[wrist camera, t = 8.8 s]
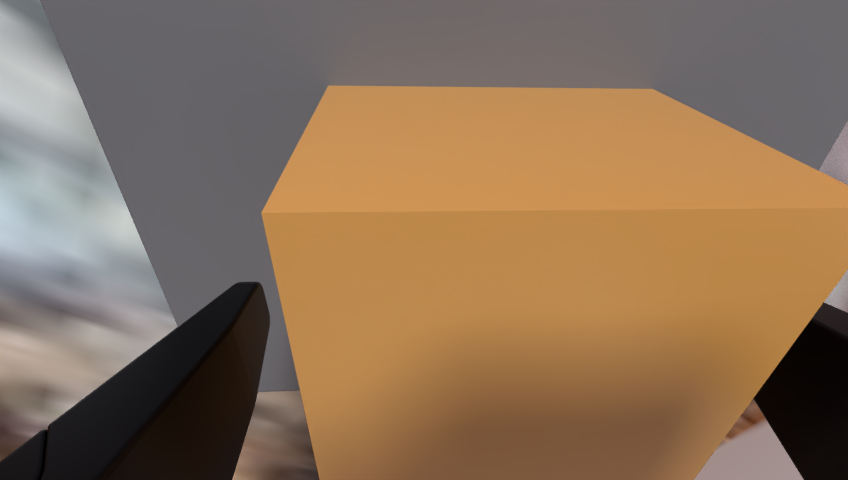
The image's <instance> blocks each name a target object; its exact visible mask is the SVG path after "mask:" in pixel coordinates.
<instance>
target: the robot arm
mask: <svg viewBox="0 0 848 480" xmlns="http://www.w3.org/2000/svg"><path fill="white" fill-rule="evenodd" d="M269 328H270V313H269V309H268V305H267V301H266V297H265V293H264V289H263V286H262V285H261V283H259V282H257V281H255V282H237V283H235V284H234V285H232V286H231V287H230V288H228V289H227V290H226V291H224V292H223V293H222V294H221V295H219V296H218V297H217V298H215V299H214V300H213V301H211V302H210V303H209V304H207V305H206V306H205V307H203V308H202V309H201V310H199V311H198V312H197V313H196V314H194V315H193V316H192V317H190V318H189V319H188V320H186V321H185V322H184V323H182V324H181V325H180V326H178V327H177V328H176V329H174V330H173V331H172V332H171V333H169V334H168V335H167V336H165V337H164V338H163V339H161V340H160V341H159V342H157V343H156V344H155V345H153V346H152V347H151V348H149V349H148V350H147V351H146V352H144V353H143V354H142V355H140V356H139V357H138V358H136V359H135V360H134V361H132V362H131V363H130V364H128V365H127V366H126V367H124V368H123V369H122V370H121V371H119V372H118V373H117V374H115V375H114V376H113V377H111V378H110V379H109V380H107V381H106V382H105V383H103V384H102V385H101V386H99V387H98V388H97V389H96V390H94V391H93V392H92V393H90V394H89V395H88V396H86V397H85V398H84V399H82V400H81V401H80V402H78V403H77V404H76V405H74V406H73V407H72V408H71V409H69V410H68V411H67V412H65V413H64V414H63V415H61V416H60V417H59V418H57V419H56V420H55V421H53V422H52V423H51V424H50V425H49V426H48V429H47V430H41V431H40V432H39V433H37V434H36V435H35V436H33V437H32V438H31V439H29V440H28V441H27V442H26V443H24V444H23V445H22V446H20V447H19V448H18V449H16V450H15V451H14V452H12V453H11V454H10V455H8V456H7V457H6V458H4V459H3V460H1V461H0V480H232V478H233V475H234V472H235V468H236V465H237V462H238V459H239V455H240V452H241V449H242V446H243V442H244V439H245V436H246V433H247V429H248V426H249V423H250V420H251V416H252V413H253V409H254V406H255V402H256V398H257V393H258V388H259V382H260V377H261V372H262V366H263V361H264V355H265V350H266V344H267V339H268V333H269ZM753 399H754V400H755V402H756V404H757V405H758V407H759V408H760V410H761V412H762V413H763V415H764V417H765V418H766V420H767V421H768V423H769V425H770V426H771V428H772V429H773V431H774V432H775V434H776V436H777V437H778V439H779V441H780V442H781V444H782V445H783V447H784V449H785V450H786V452H787V453H788V455H789V456H790V458H791V460H792V461H793V463H794V465H795V466H796V468H797V469H798V471H799V472H800V474H801V476H802V477H803V479H804V480H848V313H847V312H845V311H842V310H840V309H838V308H835V307H833V306H831V305H828V304H826V303H824V302H823V304H822V305H821V306H820V308H819V309H818V310H817V312H816V313H815V315H814V316H813V317H812V319H811V320H810V321H809V323H808V324H807V326H806V327H805V328H804V330H803V331H802V332H801V334H800V335H799V336H798V338H797V339H796V341H795V342H794V343H793V345H792V346H791V347H790V349H789V350H788V351H787V353H786V354H785V356H784V357H783V358H782V360H781V361H780V362H779V364H778V365H777V367H776V368H775V369H774V371H773V372H772V373H771V375H770V376H769V377H768V379H767V380H766V382H765V383H764V384H763V386H762V387H761V388H760V390H759V391H758V392H757V394H756V395H755V397H754V398H753Z"/></svg>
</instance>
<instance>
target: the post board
mask: <svg viewBox="0 0 848 480" xmlns="http://www.w3.org/2000/svg"><path fill="white" fill-rule="evenodd" d="M40 1H41V3H42V6H43V8H44V10H45V13H46V15H47V17H48V20H49V22H50V25H51V27H52V29H53V32H54V34H55V36H56V39H57V41H58V43H59V46H60V48H61V51H62V53H63V55H64V58H65V60H66V62H67V65H68V67H69V70H70V72H71V74H72V77H73V79H74V81H75V84H76V86H77V89H78V91H79V93H80V96H81V98H82V100H83V103H84V105H85V107H86V110H87V112H88V115H89V117H90V119H91V122H92V124H93V126H94V129H95V131H96V134H97V136H98V138H99V141H100V143H101V145H102V148H103V150H104V153H105V155H106V157H107V160H108V162H109V164H110V167H111V169H112V171H113V174H114V176H115V179H116V181H117V183H118V186H119V188H120V190H121V193H122V195H123V198H124V200H125V202H126V205H127V207H128V209H129V212H130V214H131V216H132V219H133V221H134V224H135V226H136V228H137V231H138V233H139V235H140V238H141V240H142V243H143V245H144V247H145V250H146V252H147V254H148V257H149V259H150V262H151V264H152V266H153V269H154V271H155V273H156V276H157V278H158V280H159V283H160V285H161V288H162V290H163V292H164V295H165V297H166V299H167V302H168V304H169V307H170V309H171V311H172V314H173V316H174V318H175V321H176V323H177V326H180V325H181V324H182V323H184V322H185V321H186V320H188V319H189V318H190V317H192V316H193V315H194V314H196V313H197V312H198V311H199V310H201V309H202V308H203V307H205V306H206V305H207V304H209V303H210V302H211V301H213V300H214V299H215V298H217V297H218V296H219V295H221V294H222V293H223V292H224V291H226V290H227V289H228V288H230V287H231V286H232V285H234V284H235V283H237V282H255V281H257V282H259V283H261V285H262V286H263V289H264V293H265V297H266V301H267V305H268V309H269V313H270V328H269V333H268V339H267V344H266V350H265V355H264V361H263V366H262V372H261V377H260V382H259V388H258V392H271V391H298V390H300V388H299V383H298V379H297V374H296V370H295V365H294V360H293V356H292V351H291V347H290V342H289V337H288V333H287V328H286V324H285V319H284V315H283V310H282V305H281V301H280V296H279V292H278V287H277V283H276V278H275V273H274V269H273V264H272V260H271V255H270V250H269V246H268V241H267V237H266V232H265V228H264V223H263V218H262V214H261V212H262V210H263V209H264V207H265V205H266V203H267V201H268V199H269V197H270V195H271V193H272V192H273V190H274V188H275V186H276V184H277V182H278V180H279V178H280V176H281V174H282V173H283V171H284V169H285V167H286V165H287V163H288V161H289V159H290V157H291V155H292V154H293V152H294V150H295V148H296V146H297V144H298V142H299V140H300V138H301V137H302V135H303V133H304V131H305V129H306V127H307V125H308V123H309V121H310V119H311V118H312V116H313V114H314V112H315V110H316V108H317V106H318V104H319V102H320V100H321V99H322V97H323V95H324V93H325V91H326V89H327V87H328V86H420V87H516V88H612V89H654V90H656V91H658V92H660V93H662V94H664V95H666V96H668V97H670V98H672V99H674V100H676V101H678V102H680V103H682V104H684V105H686V106H688V107H690V108H692V109H695V110H697V111H699V112H701V113H703V114H705V115H707V116H709V117H711V118H713V119H715V120H717V121H719V122H721V123H723V124H725V125H727V126H729V127H731V128H733V129H735V130H737V131H739V132H741V133H743V134H745V135H747V136H749V137H751V138H753V139H755V140H757V141H759V142H761V143H763V144H765V145H767V146H769V147H771V148H773V149H775V150H777V151H779V152H781V153H783V154H785V155H788V156H790V157H792V158H794V159H796V160H798V161H800V162H802V163H804V164H806V165H808V166H810V167H812V168H814V169H816V170H819V169H820V167H821V165H822V163H823V162H824V160H825V158H826V156H827V155H828V153H829V151H830V150H831V148H832V146H833V144H834V143H835V141H836V139H837V138H838V136H839V134H840V132H841V131H842V129H843V127H844V126H845V124H846V122H847V120H848V0H40Z"/></svg>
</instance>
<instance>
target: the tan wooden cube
mask: <svg viewBox="0 0 848 480" xmlns="http://www.w3.org/2000/svg"><path fill="white" fill-rule="evenodd" d="M261 214H262V218H263V223H264V228H265V232H266V237H267V241H268V246H269V250H270V255H271V260H272V264H273V269H274V273H275V278H276V283H277V287H278V292H279V296H280V301H281V305H282V310H283V315H284V319H285V324H286V328H287V333H288V337H289V342H290V347H291V351H292V356H293V360H294V365H295V370H296V374H297V379H298V383H299V388H300V392H301V397H302V402H303V406H304V411H305V415H306V420H307V425H308V429H309V434H310V438H311V443H312V447H313V452H314V457H315V461H316V466H317V470H318V475H319V479H320V480H694V478H695V477H696V476H697V474H698V473H699V472H700V470H701V469H702V468H703V466H704V465H705V464H706V462H707V461H708V459H709V458H710V457H711V455H712V454H713V453H714V451H715V450H716V449H717V447H718V446H719V444H720V443H721V442H722V440H723V439H724V438H725V436H726V435H727V434H728V432H729V431H730V429H731V428H732V427H733V425H734V424H735V423H736V421H737V420H738V418H739V417H740V416H741V414H742V413H743V412H744V410H745V409H746V408H747V406H748V405H749V403H750V402H751V401H752V399H753V398H754V397H755V395H756V394H757V392H758V391H759V390H760V388H761V387H762V386H763V384H764V383H765V382H766V380H767V379H768V377H769V376H770V375H771V373H772V372H773V371H774V369H775V368H776V367H777V365H778V364H779V362H780V361H781V360H782V358H783V357H784V356H785V354H786V353H787V351H788V350H789V349H790V347H791V346H792V345H793V343H794V342H795V341H796V339H797V338H798V336H799V335H800V334H801V332H802V331H803V330H804V328H805V327H806V326H807V324H808V323H809V321H810V320H811V319H812V317H813V316H814V315H815V313H816V312H817V310H818V309H819V308H820V306H821V305H822V304H823V302H824V301H825V300H826V298H827V297H828V295H829V294H830V293H831V291H832V290H833V289H834V287H835V286H836V285H837V283H838V282H839V280H840V279H841V278H842V276H843V275H844V274H845V272H846V271H847V269H848V185H846V184H844V183H842V182H840V181H838V180H836V179H834V178H832V177H830V176H828V175H826V174H824V173H822V172H820V171H818V170H816V169H814V168H812V167H810V166H808V165H806V164H804V163H802V162H800V161H798V160H796V159H794V158H792V157H790V156H788V155H785V154H783V153H781V152H779V151H777V150H775V149H773V148H771V147H769V146H767V145H765V144H763V143H761V142H759V141H757V140H755V139H753V138H751V137H749V136H747V135H745V134H743V133H741V132H739V131H737V130H735V129H733V128H731V127H729V126H727V125H725V124H723V123H721V122H719V121H717V120H715V119H713V118H711V117H709V116H707V115H705V114H703V113H701V112H699V111H697V110H695V109H692V108H690V107H688V106H686V105H684V104H682V103H680V102H678V101H676V100H674V99H672V98H670V97H668V96H666V95H664V94H662V93H660V92H658V91H656V90H654V89H612V88H516V87H420V86H328V87H327V89H326V91H325V93H324V95H323V97H322V99H321V100H320V102H319V104H318V106H317V108H316V110H315V112H314V114H313V116H312V118H311V119H310V121H309V123H308V125H307V127H306V129H305V131H304V133H303V135H302V137H301V138H300V140H299V142H298V144H297V146H296V148H295V150H294V152H293V154H292V155H291V157H290V159H289V161H288V163H287V165H286V167H285V169H284V171H283V173H282V174H281V176H280V178H279V180H278V182H277V184H276V186H275V188H274V190H273V192H272V193H271V195H270V197H269V199H268V201H267V203H266V205H265V207H264V209H263V210H262V212H261Z"/></svg>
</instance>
